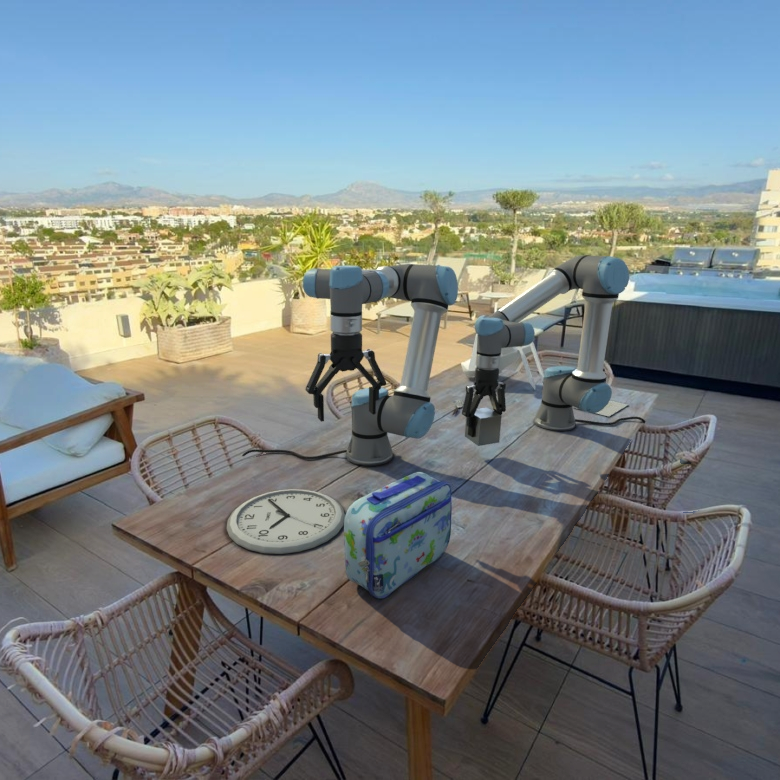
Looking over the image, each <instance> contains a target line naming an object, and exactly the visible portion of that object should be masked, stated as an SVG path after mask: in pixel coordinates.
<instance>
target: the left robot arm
mask: <svg viewBox="0 0 780 780" xmlns="http://www.w3.org/2000/svg"><path fill="white" fill-rule="evenodd" d="M302 289H303V292H304V293H305V295H306V296H308V297H310V298H315V299H322V300H329V302H330V311H329V312H330V313H329V315H330V317H329V318H330V321H329V322H330V325H329V326H330V329H329V330H330V331H331V333H330V353H329V354H325V353H324V354H323V353H322V352H319V353H318V354H317V362H316V364H315V366H314V369H313V372H312V373H311V375H310V378H309V380H308V382H307V384H306V386H305V391H306V392H307V394H308V395H313V406H314V408H315V409H317V419H318V420H319V421H320V422H325V404H324V400H325V398H324V394H322V393H323V392H324V390H325V389H326V388H327V386H328V385H329V384H330V383H331V381H332V379H333V378H334V377H335V376H336V375H337V374H338V373H339V372H347V371H351V372H352V371H355V370H356V369H357V370H358V372H359V373H360V374H361V375H362V376H363V377H364V378H365V379H366V381H367V382H368V383H369V384H370V385H371V386H369V387H366V388H362V389H359V390H356V391H355V392H354V393H352V396H351V405H350V407H351V436H350V439H349V442H348V445H347V447H346V449H344V450H338V451H335V452H329V453H324V454H320V455H314V456H313V455H312V456H307V455H302V454H299V453H297V452H295V451H292V450H286V449H256V448H255V449H249V450H247V451H245V452H243V453H242V455H241V457H245V456H247V455H248V454H250V453H285V454H291V455H294V456H296V457H298V458H301V459H304V460H317V459H322V458H327V457H333V456H336V455H340V454H344V453H345V455H346V460H347V461H348V462H350V463H351V464H353V465H357V466H362V467H376V466H377V467H378V466H383V465H385V464H388V463H389V462H390V461H392V460H393V447H392V445H391V441H390V439H389V436H388V434H392V435H396V436H402V437H405V438H408V439H409V438H411V439H422V438H424V437H425V436H426V435H427V434H428V432H429V431H430V429H431V427H432V426H433V423H434V419H435V417H436V416H435V414H436V409H435V405H434V403H432V402H431V398H432V397H431V395H430V394H429V392H428V388H429V383H430V378H431V372H432V368H433V362H434V358H435V351H436V346H437V341H438V336H439V331H440V327H441V321H442V316H444V315H445V314H447V312H448V309H449V306H453V305H454V304H455V303H456V301H457V300H458V294H459V283H458V278H457V274H456V272H455V270H454V269H453V268H452V267H450V266H446V265H440V264H436V265H435V264H433V265H432V264H418V263H417V264H415V263H402V264H395V265H384V266H379V267H377V268H376V269H362V267H360V266H359V265H334V266H332V267H331V268H330V269H329V268H328V269H326V268H310V269H308V270H307V271H305V273H304V275H303V278H302ZM386 298H389V299H396V300H401V301H406V302H411V303H410V306H411V308H412V309H413V311H414V312H413V317H412V322H411V327H410V333H409V338H408V343H407V348H406V352H405V353H406V354H405V358H404V363H403V369H402V374H401V378H400V384H399V386H398V387H396V388H395V389H394V390H393V394H392V395H390V394H389V390H388V389H387V388H386V387H385V386H387V381H386V379H385V376H384V375H383V372H382V370H381V369H380V366H379V365H378V363H377V361H376V353H375V351H373V350H372V349H370V348H367V349H366V350H364V351H363V334H362V331H363V305H366V304H370V303H377V302H379V301H382V300H384V299H386ZM364 358H365V359H366V360H367V361H368V364H369V366H370V368H371V370H372V372H373V373H374V376H375V378H376V379H377V380H376V379H375V378H374V377H373V376H372V375H371V373H369V371H367V369H366V368H365V367H364V365H363V364H362V363H361V362H362V360H363V359H364ZM329 361H331V364H330V365H329V367H328V368H327V370H326V372H325V373H324V374H323V376H322V373H323V371H324V369H325V366H326V364H327V363H329ZM321 376H322V377H321ZM320 377H321V379H320Z"/></svg>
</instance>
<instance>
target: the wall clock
mask: <svg viewBox="0 0 780 780" xmlns="http://www.w3.org/2000/svg"><path fill="white" fill-rule="evenodd" d="M345 516H346V513H345V511H344V508H343V507H342V505H341V504H340V503H339V502H338V501H337V500H336V499H334V498H333V497H331V496H329V495H327V494H324V493H322V492H319V491H315V490H309V489H298V488H297V489H295V488H292V489H289V488H288V489H280V490H279V489H278V490H274V491H270V492H269V491H268V492H265V493H262V494H260V495H257V496H254V497H252V498H250V499H248V500H246V501H245V502H243V503H241V504H240V505H239V506H237V508H236V509H234V510H233V511H232V512H231V514H230V516H229V517H228V519H227V522H226V531H227V534H228V537H229V538H230V539H231V540H232V541H233V542H234V543H235V544H236V545H238V546H240V547H242V548H244V549H246V550H248V551H253V552H256V553H261V554H271V555H273V554H274V555H281V554H282V555H283V554H291V553H300V552H303V551H306V550H311V549H314V548H316V547H318V546H320V545H322V544H325V543H328V541H330V540H332V538H334V537H335V536H336V535H338V533H339V532H340V531H341V530H342V528H344V520H345Z"/></svg>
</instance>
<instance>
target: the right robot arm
mask: <svg viewBox="0 0 780 780" xmlns="http://www.w3.org/2000/svg"><path fill="white" fill-rule="evenodd" d="M629 281H630V270H629V267H628V265H627V264H626V262H625V261H624V260H623V259H622V258H620V257H616V256H615V257H614V256H609V255H590V254H582V255H578V256H574V257H572V258H570V259H567V260H566V261H564V262H562V263H560V264H559V265H557V266H555V267H554V268H553V269H550V270H549V272H548V274H547V276H546V277H545V278H543V279H542V280H540V281H539V282H537V283H536V284H534V285H532V286H531V287H530V288H528V289H527V290H525V291H524V292H522V293H521V294H520V295H518V296H517V297H515V298H514V299H513V300H511V301H510V302H508V303H506V304H505V305H504V306H502V307H501V308H499V309H498V310H496V311H494V312H493V313H492V314H490V315H489V314H483V315H480V316H479V317H477V319H476V320H475V323H474V330H475V334H478V337H477V353H476V364H475V365H476V366H477V367H476V368H475V376H474V383H473V384H472V385H466V386H465V397H464V399H463V401H464V403H463V407H462V410H461V415H462V416H464V417H465V418H466V417H467V426H468V435H469V436H471V437H474V431H475V418H474V414H475V412H476V410H477V409H479V408H478V407H479V405H480V403H481V400H483V399H484V397H487V396H488V398H489V401H490V404H491V407H492V411H494V412H496V413H498V414H500V415H501V416H502V415H503V413H505V412H506V411H507V405H506V392H505V390H506V385H507V384H506V383H504V382H502V381H499V379H500V374H499V368H498V367H499V366H500V355H501V348H507V347H519V346H520V347H522V346H526V345H529V344H531V343H532V342H533V343H534V339H535V334H536V333H535V328H534V326H533V325H532V324H531V323H529V322H523V320H525V319H526V318H527V317H528V316H530V315H532V314H533V313H534V312H536V311H537V310H539V309H540V308H542V307H543V306H544V305H546V304H548V303H549V302H550V301H552V300H553V299H555V298H556V297H558V296H559V295H565V294H567V293H568V292H571V291H572V290H577V289H578V290H582V291H581V297H582V298H583V300H584V301H585V307H584V313H583V322H582V328H581V336H580V343H579V344H580V345H579V352H578V358H577V361H578V362H577V367H574V366H566V365H565V366H564V365H559V366H558V365H557V366H550V367H547V368H546V369H545V370H544V378H543V382H542V392H541V402H540V405H539V407H538V410H537V411H536V413H535V417H534V424H535V425H536V426H537V427H539V428H542V429H544V430H549V431H556V432H567V431H572V430H574V429H575V428H576V423H582V424H584V423H585V424H591V425H598V426H614V425H617V424H618V423H619V422H621V421H628V420H639V421H641V422H643V423H646V420H645V419H644V418H642V417H640V416H627V417H619V418H617V419H616V420H615V421H612V422H603V421H601V422H600V421H594V420H593V421H592V420H585V419H576V418H575V417H576V416H575V413H574V407H576V408H578V409H577V410H580V411H581V412H586V413H589V414H596V413H597V412H599V411H601V410H602V409H604V407H605V406H606V405H607V404H608V403H609V401H611V398H612V393H613V392H612V388H611V386H610V385H609V383H607V377H608V376H607V374H606V373H605V372H604V365H605V359H606V352H607V344H608V337H609V331H610V323H611V317H612V310H613V304H614V302H616V301H617V300H618V299H619V296H620V294H622V293H623V292H624V291H625V290H626V288H627V287H628V285H629ZM520 321H521V322H520ZM518 322H520V323H518ZM576 408H575V409H576Z"/></svg>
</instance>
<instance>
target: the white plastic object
mask: <svg viewBox="0 0 780 780" xmlns="http://www.w3.org/2000/svg"><path fill="white" fill-rule="evenodd" d="M520 322H522V320H521V321H520ZM520 322H518V323H520ZM477 337H478V334H477V333H475V337H474V342H473V346H472V351H471V356H470V358H468V359H467V360H465V361H462V362H461V363H460V364H461V371H462V372H463V374H464V376H465V377H466V378H470V377H471V378H472V377H475V368H476V367H477V366H476V365H475V364H476V353H477ZM535 345H536V344H535V343H534V341H533V342H532V343H531V344H529V345H526V346H522V347H520V346H519V347H507V348H501V355H500V366H499V367H498V368H499V375H500V374H502V373H503V371H504V370H505V369H507V367H509V366H510V365H512V364H513V363H515V362H516V361H517V360H519V359H520V358H521V361H522V364H523V367H524V370H525V373H526V377H527V379H528V382H529V384H530V386H531V387H532V389H534V391H536V384H535V380H534V377H533V373H532V372H531V371H532V370H531V368H530V365H529V362H528V358H527V354H529V353H532V356H533V357H534V358H533V359H534V362H535V365H536V368H537V371H538V374H539V377H540V381H541V382H542V383H543V378H544V375H545V371H544V369H543V366H542V364H541V363H542V362H541V360H540V356H539V355H538V351H537V349H536V346H535Z"/></svg>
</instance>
